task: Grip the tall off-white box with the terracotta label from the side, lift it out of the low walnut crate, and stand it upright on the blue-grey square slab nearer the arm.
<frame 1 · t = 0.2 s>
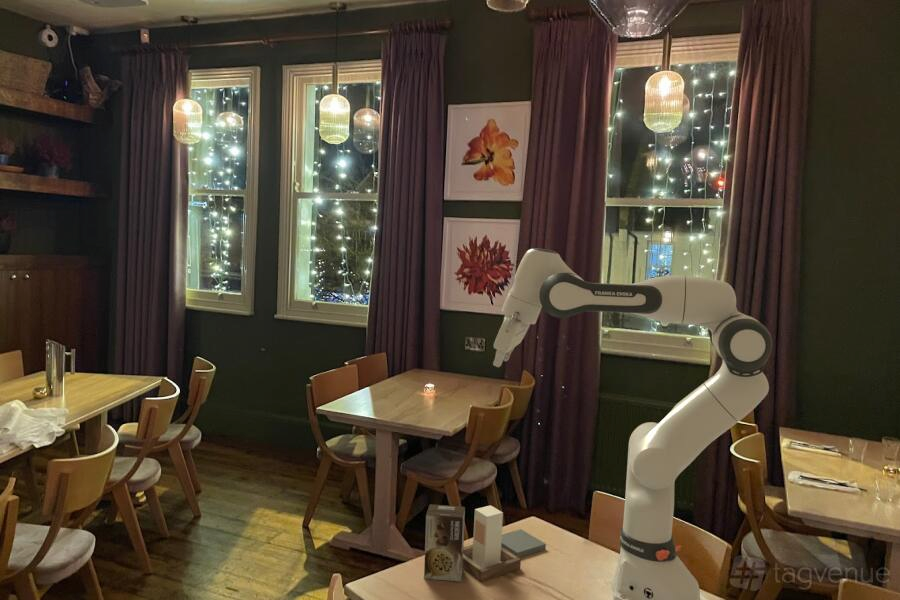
hand: (500, 363, 161), 51 cm above the table, tool tilted 20°, fingers open, 8 cm apart
coffee box: (443, 574, 159), on the table
blue-grey square slab: (518, 545, 176), on the table
walnut crate: (485, 564, 165), on the table
off-white box: (487, 537, 164), in the walnut crate
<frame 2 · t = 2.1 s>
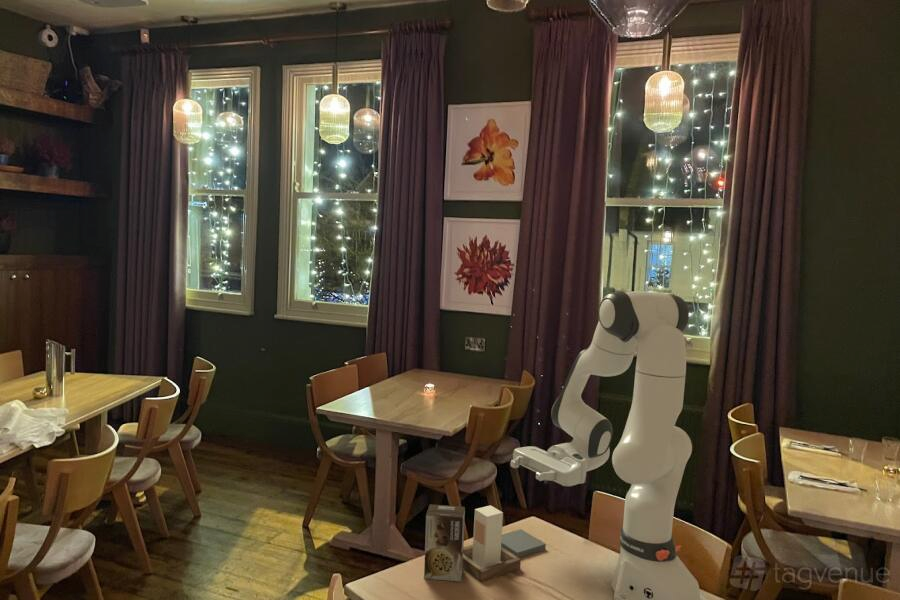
hand: (524, 470, 169), 23 cm above the table, tool horizontal, fingers open, 8 cm apart
nothing on the table moved.
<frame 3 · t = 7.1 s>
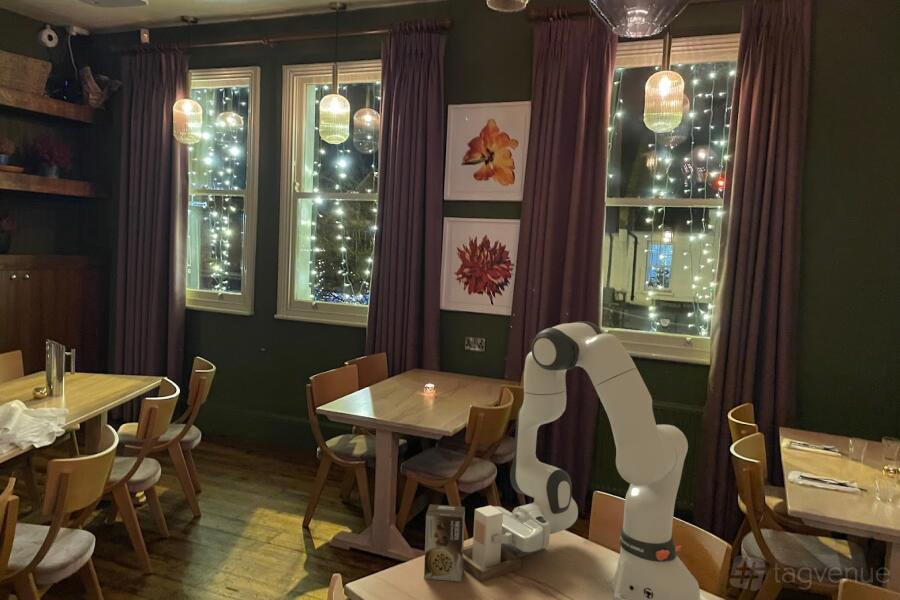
hand: (484, 534, 164), 8 cm above the table, tool horizontal, fingers closed on off-white box, 5 cm apart
off-white box: (487, 537, 164), in the walnut crate, touching gripper
everything else where it was.
when the fingers open (11 cm above the table, at t = 12.4 s): off-white box drops 1 cm, resting on blue-grey square slab.
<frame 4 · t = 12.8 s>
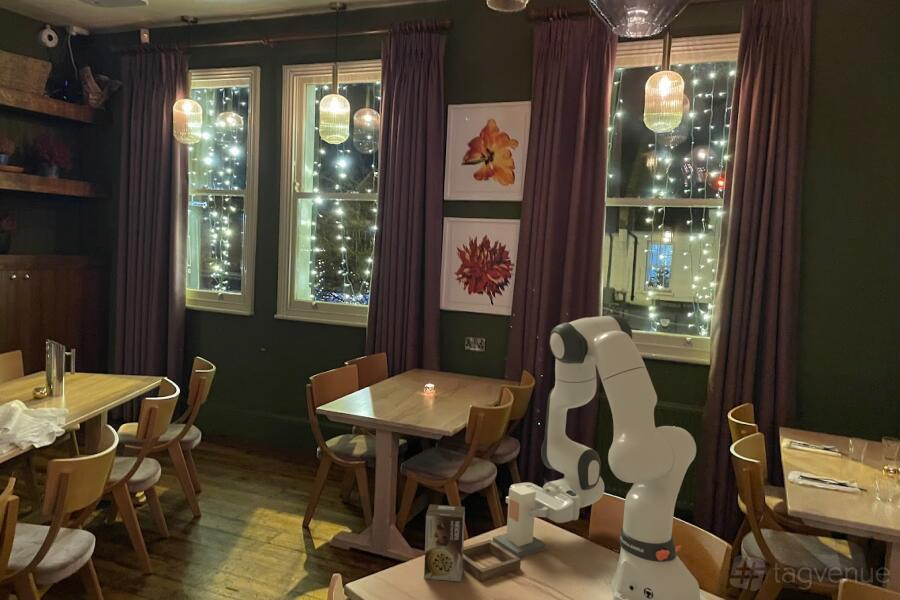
hand: (518, 507, 174), 11 cm above the table, tool horizontal, fingers open, 8 cm apart
off-white box: (520, 515, 175), on the blue-grey square slab, point 8 cm above the table
everything else where it was.
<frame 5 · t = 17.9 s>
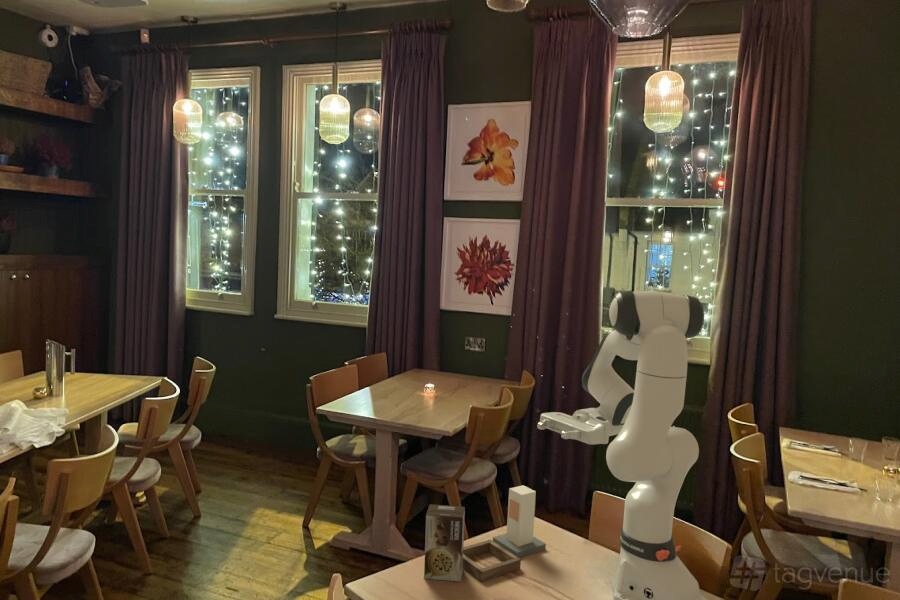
hand: (550, 430, 180), 30 cm above the table, tool horizontal, fingers open, 8 cm apart
nothing on the table moved.
at the end: off-white box inside the target area on the blue-grey square slab (0.1 cm from its centre), point 8.5 cm above the blue-grey square slab's base; off-white box tilted 0°; the gripper is holding nothing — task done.
